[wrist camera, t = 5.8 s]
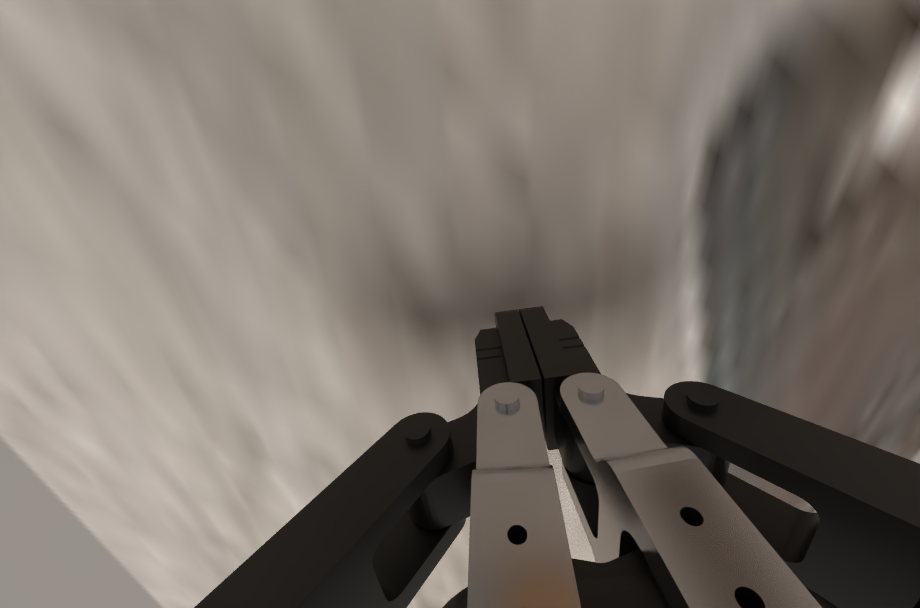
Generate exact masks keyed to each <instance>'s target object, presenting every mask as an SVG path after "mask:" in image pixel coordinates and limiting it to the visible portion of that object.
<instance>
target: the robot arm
mask: <svg viewBox="0 0 920 608" xmlns="http://www.w3.org/2000/svg"><path fill="white" fill-rule="evenodd" d="M495 322H496V328H492V329H484V330H480V332H479V333H478V335H477V337H476V339H475V346H476V356H477V366H478V376H479V385H480V396H479V399H478V403H477V405H476V406H475V407H474V408H473V409H472V410H471V411H470V412H469V413H468V414H466V415H464V416H462V417H460V418H458V419H455V420H453V421H450V422H446V420H445V419H444V418H443V417H441V416H439V415H437V414H434V413H426V412H424V413H417V414H413V415H410V416H408V417H405V418H404V419H402V420H400V421H399V422H398V423H397V424H396V425H394V426H393V427H392V428H391V429H390V430H389V431H388V432H387V433H386V434H385V435H383V436H382V437H381V438H380V439H379V440H378V441H377V442H376V443H375V444H374V445H372V446H371V447H370V448H369V449H368V450H367V451H366V452H365V453H364V454H363V455H361V456H360V457H359V458H358V459H357V460H356V461H355V462H354V463H353V464H352V465H350V466H349V467H348V468H347V469H346V470H345V471H344V472H343V473H342V474H341V475H339V476H338V477H337V478H336V479H335V480H334V481H333V482H332V483H331V484H330V485H328V486H327V487H326V488H325V489H324V490H323V491H322V492H321V493H320V494H319V495H317V496H316V497H315V498H314V499H313V500H312V501H311V502H310V503H309V504H308V505H306V506H305V507H304V508H303V509H302V510H301V511H300V512H299V513H298V514H297V515H295V516H294V517H293V518H292V519H291V520H290V521H289V522H288V523H287V524H286V525H284V526H283V527H282V528H281V529H280V530H279V531H278V532H277V533H276V534H275V535H273V536H272V537H271V538H270V539H269V540H268V541H267V542H266V543H265V544H264V545H263V546H261V547H260V548H259V549H258V550H257V551H256V552H255V553H254V554H253V555H252V556H250V557H249V558H248V559H247V560H246V561H245V562H244V563H243V564H242V565H241V566H239V567H238V568H237V569H236V570H235V571H234V572H233V573H232V574H231V575H230V576H228V577H227V578H226V579H225V580H224V581H223V582H222V583H221V584H220V585H219V586H217V587H216V588H215V589H214V590H213V591H212V592H211V593H210V594H209V595H208V596H206V597H205V598H204V599H203V600H202V601H201V602H200V603H199V604H198V605H197V606H195V607H194V608H406V607H407V606H408V605H409V603H410V602H411V600H412V599H413V598H414V596H415V595H416V593H417V592H418V591H419V589H420V588H421V586H422V585H423V583H424V582H425V581H426V579H427V578H428V576H429V575H430V574H431V572H432V571H433V569H434V568H435V566H436V565H437V564H438V562H439V561H440V559H441V558H442V557H443V555H444V554H445V552H446V551H447V549H448V548H449V547H450V545H451V544H452V542H453V541H454V540H455V538H456V537H457V535H458V534H459V532H460V531H461V530H462V528H463V526H464V524H465V521H466V518H467V517H469V516H470V538H469V568H468V587H467V588H465V589H463V590H462V591H461V592H459V593H458V594H457V595H455V596H454V597H453V598H452V599H450V600H449V601H448V602H447V604H446V605H445V606H444V607H443V608H920V464H919V463H916V462H914V461H911V460H908V459H906V458H903V457H900V456H898V455H895V454H893V453H890V452H887V451H885V450H882V449H879V448H877V447H874V446H871V445H869V444H866V443H864V442H861V441H858V440H856V439H853V438H850V437H848V436H845V435H842V434H840V433H837V432H835V431H832V430H829V429H827V428H824V427H821V426H819V425H816V424H814V423H811V422H808V421H806V420H803V419H800V418H798V417H795V416H792V415H790V414H787V413H785V412H782V411H779V410H777V409H774V408H771V407H769V406H766V405H763V404H761V403H758V402H756V401H753V400H750V399H748V398H745V397H742V396H740V395H737V394H734V393H732V392H729V391H727V390H724V389H721V388H719V387H716V386H713V385H710V384H706V383H702V382H693V381H687V382H679V383H676V384H673V385H671V386H670V387H669V388H667V390H666V391H665V394H664V398H654V397H644V396H636V395H631V394H628V393H625V392H624V390H623V389H622V388H621V386H620V385H619V384H618V383H617V382H616V381H614V380H613V379H611V378H609V377H607V376H605V375H601V373H600V372H599V370H598V368H597V366H596V365H595V363H594V361H593V360H592V358H591V356H590V354H589V353H588V351H587V349H586V348H585V347H584V344H583V342H582V341H581V339H579V336H578V334H577V332H576V330H575V329H574V327H573V326H571V325H570V324H568V323H567V322H565V321H564V320H562V319H560V320H553V321H550V320H549V318H548V316H547V314H546V312H545V310H544V308H543V307H542V306H541V307H533V308H526V309H519V312H518V310H511V311H503V312H496V313H495ZM545 442H546V443H545ZM546 445H547V448H548V450H554V449H559V452H560V455H561V458H562V474H563V478H564V480H565V483H566V485H567V488H568V490H569V493H570V495H571V498H572V500H573V503H574V505H575V508H576V510H577V513H578V515H579V518H580V520H581V523H582V525H583V528H584V530H585V533H586V535H587V538H588V540H589V543H590V545H591V548H592V551H593V554H594V558H595V562H590V561H584V560H578V559H572V558H571V554H570V549H569V544H568V539H567V534H566V528H565V523H564V518H563V513H562V508H561V503H560V498H559V493H558V488H557V483H556V478H555V473H554V469H553V466H552V465H550V464H549V459H548V454H547V449H546ZM730 462H731V463H733V464H735V465H737V466H739V467H741V468H743V469H745V470H747V471H749V472H751V473H753V474H755V475H757V476H759V477H761V478H763V479H765V480H767V481H769V482H771V483H773V484H775V485H777V486H779V487H781V488H783V489H785V490H787V491H789V492H791V493H793V494H795V495H797V496H799V497H800V498H802V499H804V500H805V501H807V502H808V503H809V504H810V505H811V506H812V507H813V508H814V509H815V510H816V511H817V513H809V512H805V511H802V510H799V509H797V508H795V507H793V506H791V505H789V504H787V503H785V502H784V501H782V500H780V499H778V498H776V497H774V496H772V495H770V494H768V493H766V492H764V491H762V490H760V489H758V488H757V487H755V486H753V485H751V484H749V483H747V482H745V481H743V480H741V479H739V478H737V477H735V476H733V475H732V474H730V473H728V469H729V465H730Z"/></svg>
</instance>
